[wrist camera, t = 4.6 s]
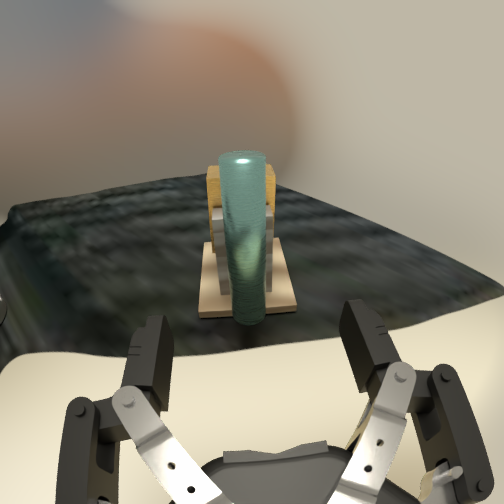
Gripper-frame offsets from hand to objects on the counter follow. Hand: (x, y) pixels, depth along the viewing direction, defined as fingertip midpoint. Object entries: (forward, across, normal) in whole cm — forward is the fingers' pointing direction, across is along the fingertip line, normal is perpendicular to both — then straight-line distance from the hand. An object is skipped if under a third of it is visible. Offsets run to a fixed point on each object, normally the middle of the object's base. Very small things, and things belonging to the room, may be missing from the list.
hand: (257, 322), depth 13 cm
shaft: (+18, 0, -11) cm, 21 cm away
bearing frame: (+21, 0, -15) cm, 26 cm away
